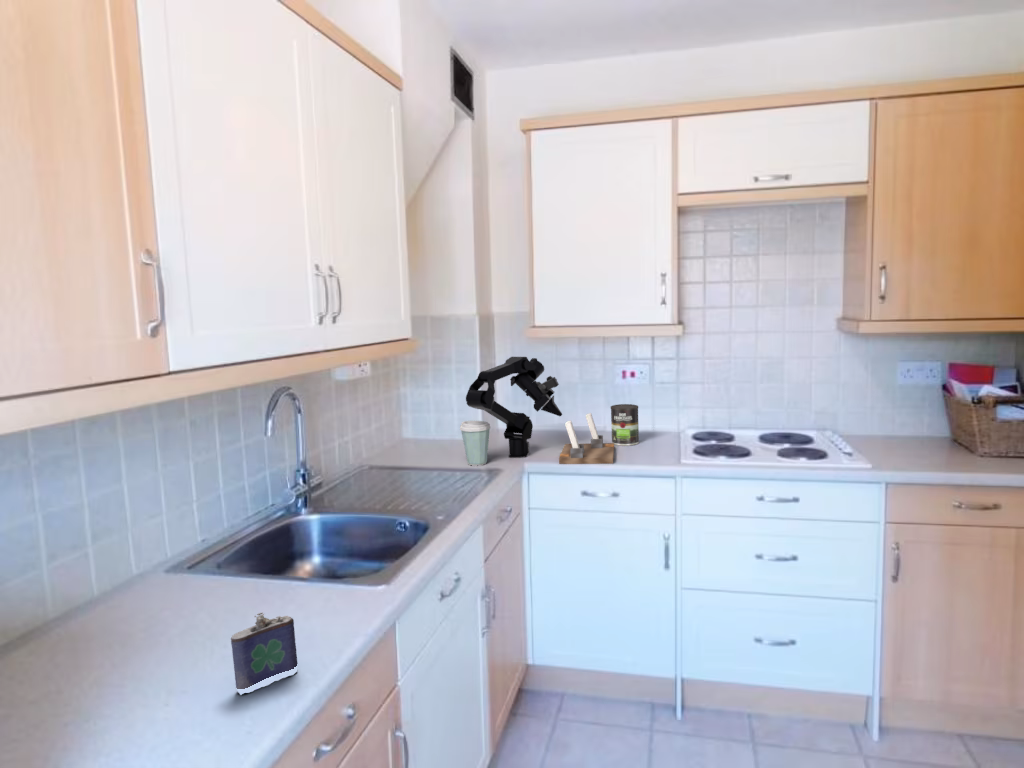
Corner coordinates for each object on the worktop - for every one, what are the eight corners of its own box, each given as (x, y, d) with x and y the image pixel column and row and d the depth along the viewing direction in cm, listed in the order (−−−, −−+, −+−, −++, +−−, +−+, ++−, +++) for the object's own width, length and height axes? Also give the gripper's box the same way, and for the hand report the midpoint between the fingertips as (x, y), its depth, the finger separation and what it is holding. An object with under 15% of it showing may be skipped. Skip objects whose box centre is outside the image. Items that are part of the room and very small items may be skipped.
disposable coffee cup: (488, 458, 233) (485, 417, 231) (496, 465, 223) (494, 422, 221) (459, 462, 230) (456, 420, 228) (466, 469, 220) (463, 425, 218)
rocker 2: (594, 447, 234) (584, 416, 233) (595, 444, 238) (585, 414, 237) (601, 445, 233) (591, 414, 233) (601, 443, 237) (591, 412, 236)
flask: (239, 698, 95) (231, 628, 94) (233, 689, 98) (225, 621, 96) (301, 673, 101) (294, 607, 100) (294, 666, 103) (287, 601, 102)
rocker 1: (574, 456, 221) (564, 424, 220) (575, 454, 225) (565, 422, 224) (581, 455, 221) (571, 422, 220) (582, 452, 225) (572, 420, 224)
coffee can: (637, 446, 240) (636, 408, 239) (609, 445, 244) (608, 408, 242) (641, 440, 250) (640, 403, 248) (614, 439, 253) (613, 403, 252)
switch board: (559, 464, 221) (558, 449, 220) (565, 449, 242) (564, 435, 241) (613, 463, 217) (612, 448, 217) (614, 448, 239) (613, 435, 238)
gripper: (541, 372, 226) (574, 403, 226) (547, 367, 245) (578, 395, 244) (520, 396, 229) (552, 426, 228) (527, 388, 247) (558, 416, 246)
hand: (561, 415), depth 237 cm, fingers closed
